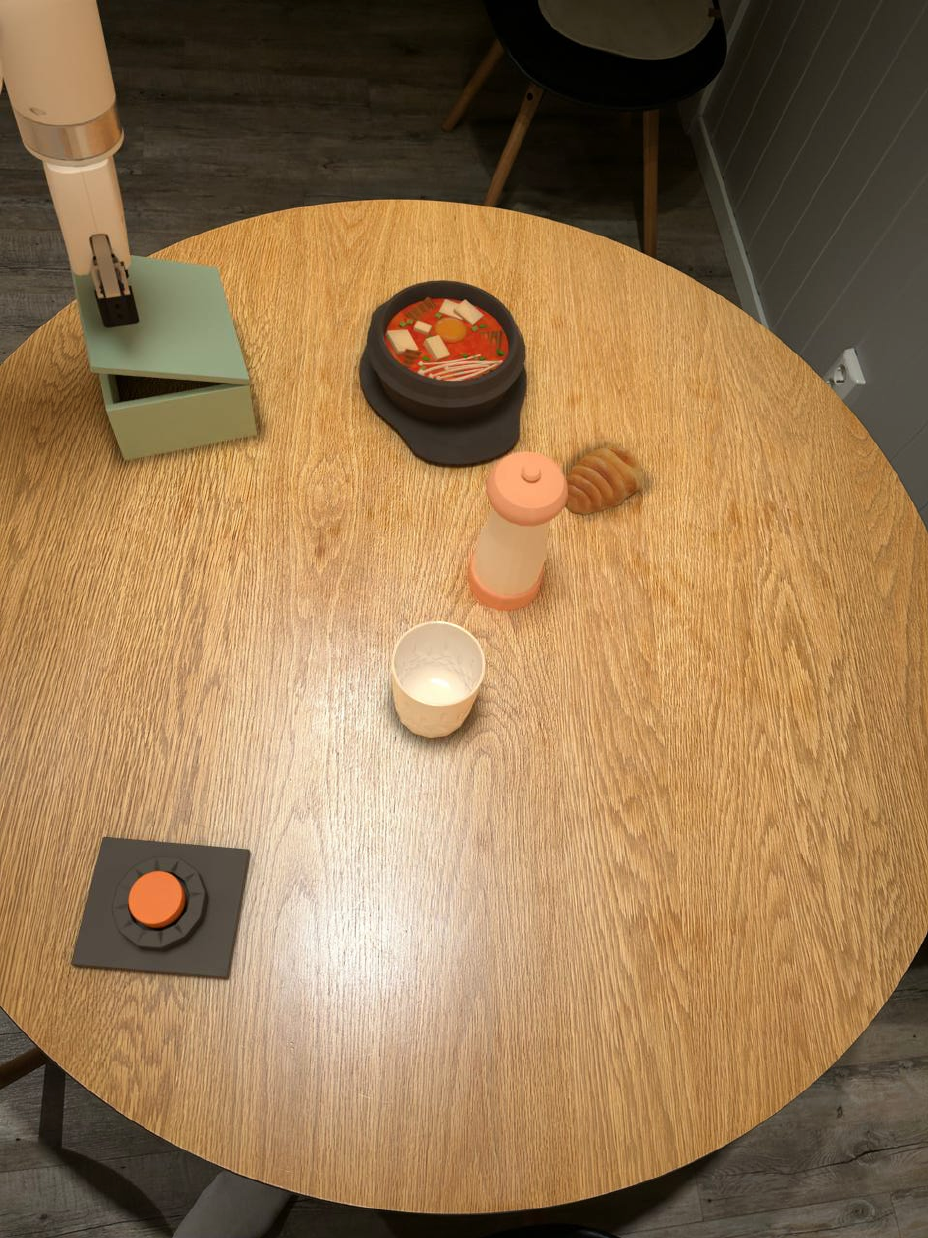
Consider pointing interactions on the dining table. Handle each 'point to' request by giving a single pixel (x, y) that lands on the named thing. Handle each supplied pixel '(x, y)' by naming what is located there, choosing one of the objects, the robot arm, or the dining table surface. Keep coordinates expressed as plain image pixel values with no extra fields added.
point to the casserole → (446, 371)
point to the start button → (157, 899)
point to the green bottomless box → (178, 418)
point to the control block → (183, 945)
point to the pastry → (603, 480)
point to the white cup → (436, 677)
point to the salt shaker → (516, 530)
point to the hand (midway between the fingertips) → (116, 299)
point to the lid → (165, 325)
